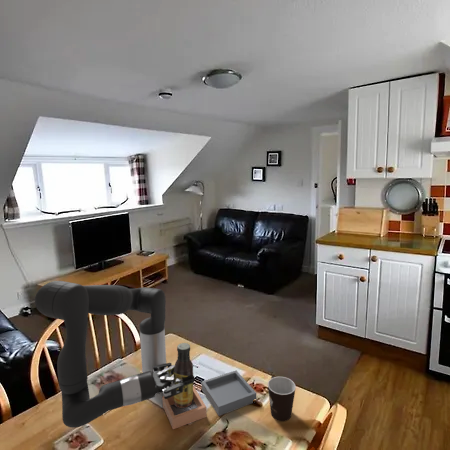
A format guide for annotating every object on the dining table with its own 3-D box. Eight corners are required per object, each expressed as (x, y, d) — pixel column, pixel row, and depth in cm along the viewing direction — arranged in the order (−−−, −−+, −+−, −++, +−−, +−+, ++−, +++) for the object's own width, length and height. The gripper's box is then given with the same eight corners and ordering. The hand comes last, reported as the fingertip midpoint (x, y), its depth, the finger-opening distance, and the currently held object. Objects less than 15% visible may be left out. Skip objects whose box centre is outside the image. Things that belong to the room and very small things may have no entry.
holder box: (162, 406, 107) (162, 396, 106) (193, 395, 111) (193, 386, 111) (172, 429, 97) (172, 419, 96) (206, 416, 102) (206, 406, 101)
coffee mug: (295, 425, 98) (295, 396, 96) (266, 421, 99) (266, 392, 98) (294, 399, 109) (295, 372, 107) (268, 396, 111) (269, 369, 109)
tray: (201, 389, 114) (201, 381, 114) (236, 378, 120) (236, 370, 120) (218, 416, 102) (218, 407, 101) (256, 401, 108) (256, 393, 108)
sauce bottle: (170, 406, 102) (167, 348, 99) (179, 393, 108) (178, 338, 105) (188, 412, 100) (186, 353, 97) (197, 398, 106) (196, 342, 102)
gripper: (141, 391, 89) (198, 374, 96) (131, 363, 102) (182, 350, 109) (143, 415, 90) (199, 396, 98) (133, 385, 103) (183, 370, 110)
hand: (190, 372), depth 103 cm, fingers closed on sauce bottle, 6 cm apart
